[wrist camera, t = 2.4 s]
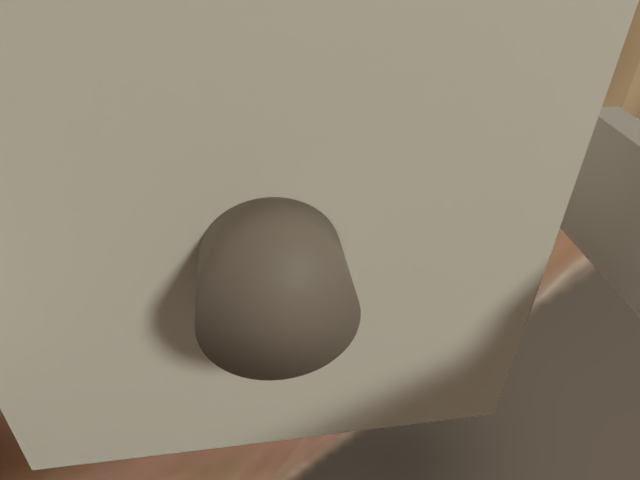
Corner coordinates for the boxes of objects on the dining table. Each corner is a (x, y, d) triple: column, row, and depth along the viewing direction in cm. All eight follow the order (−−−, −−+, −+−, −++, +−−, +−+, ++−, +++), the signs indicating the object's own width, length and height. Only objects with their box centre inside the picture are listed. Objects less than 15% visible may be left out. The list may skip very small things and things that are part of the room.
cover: (123, 161, 23) (8, 549, 10) (59, -142, 16) (-431, -112, 4) (365, 150, 24) (525, 476, 12) (388, -133, 18) (782, -90, 5)
